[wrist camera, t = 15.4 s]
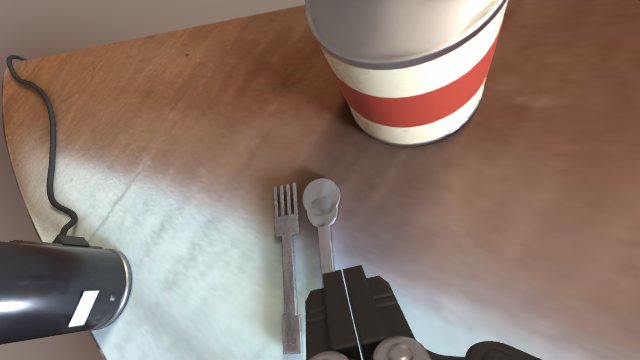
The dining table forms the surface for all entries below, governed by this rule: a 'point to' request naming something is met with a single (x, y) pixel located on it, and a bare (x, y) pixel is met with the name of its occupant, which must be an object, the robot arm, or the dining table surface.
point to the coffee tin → (408, 62)
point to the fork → (289, 267)
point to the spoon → (323, 216)
